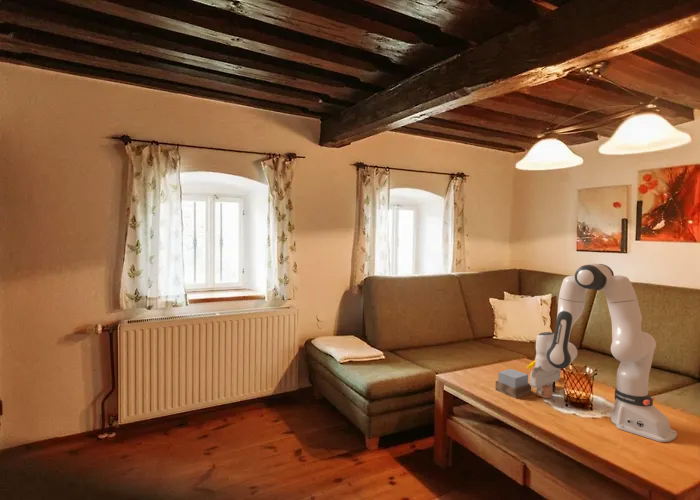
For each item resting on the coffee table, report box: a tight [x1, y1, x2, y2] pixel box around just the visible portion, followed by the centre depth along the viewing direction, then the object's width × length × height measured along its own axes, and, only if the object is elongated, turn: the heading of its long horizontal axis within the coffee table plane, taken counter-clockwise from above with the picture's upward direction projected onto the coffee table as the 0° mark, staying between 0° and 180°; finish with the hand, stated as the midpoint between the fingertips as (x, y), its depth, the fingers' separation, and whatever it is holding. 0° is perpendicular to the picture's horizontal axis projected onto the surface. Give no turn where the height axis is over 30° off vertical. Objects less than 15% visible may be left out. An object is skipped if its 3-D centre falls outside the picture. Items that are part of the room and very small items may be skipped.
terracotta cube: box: [536, 384, 553, 399], centre depth 200 cm, size 5×5×5 cm
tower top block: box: [497, 368, 529, 388], centre depth 206 cm, size 10×10×5 cm
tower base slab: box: [495, 380, 532, 399], centre depth 206 cm, size 12×12×5 cm
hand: (544, 392), depth 200 cm, fingers closed on terracotta cube, 5 cm apart
